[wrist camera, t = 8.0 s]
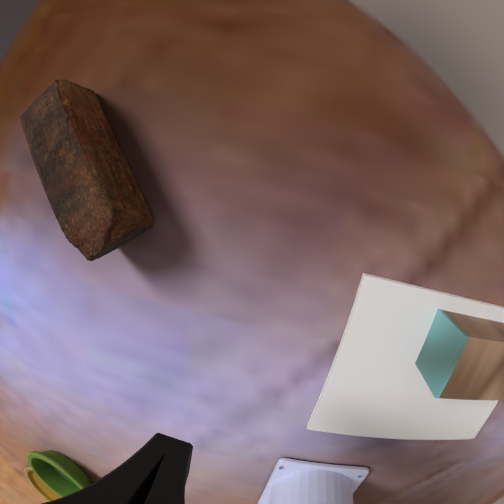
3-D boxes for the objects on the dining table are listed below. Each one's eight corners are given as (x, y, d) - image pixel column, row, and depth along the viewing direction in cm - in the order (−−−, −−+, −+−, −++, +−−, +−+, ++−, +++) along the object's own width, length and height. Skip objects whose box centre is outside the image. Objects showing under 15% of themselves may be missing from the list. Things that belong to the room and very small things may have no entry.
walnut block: (414, 363, 18) (494, 372, 17) (434, 397, 14) (518, 400, 13) (437, 308, 17) (516, 325, 16) (465, 335, 13) (545, 348, 13)
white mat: (471, 435, 19) (473, 438, 19) (306, 424, 21) (306, 429, 20) (535, 314, 17) (539, 317, 16) (363, 272, 18) (364, 275, 17)
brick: (59, 124, 19) (15, 117, 14) (97, 90, 18) (55, 74, 13) (116, 251, 20) (74, 268, 15) (161, 222, 19) (123, 234, 15)
